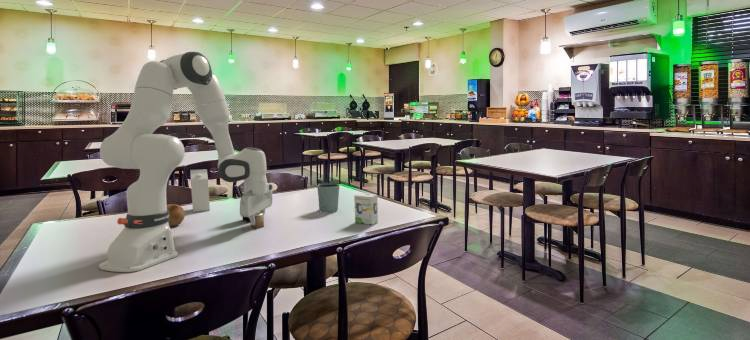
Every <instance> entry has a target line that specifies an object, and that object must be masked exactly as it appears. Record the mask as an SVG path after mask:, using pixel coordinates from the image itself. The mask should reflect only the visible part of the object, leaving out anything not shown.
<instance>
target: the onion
mask: <svg viewBox="0 0 750 340" xmlns="http://www.w3.org/2000/svg"><path fill="white" fill-rule="evenodd" d="M167 209H168V211H169V221H168V223H169V227H176V226H179V225H180V224H182V222H183V221H184V220H185V215H186V213H185V210H184V208H183V207H182V206H181V205H179V204H176V203H170V204H167Z"/></svg>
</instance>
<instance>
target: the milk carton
mask: <svg viewBox="0 0 750 340" xmlns="http://www.w3.org/2000/svg"><path fill="white" fill-rule="evenodd" d="M208 175H209V174H208V169H205V168H204V169H203V168H202V169H190V187H191V203H192V211H193V213H198V212H207V211H211V206H210V192H209V191H210V188H209V177H208Z"/></svg>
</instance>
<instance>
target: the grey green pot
mask: <svg viewBox="0 0 750 340" xmlns="http://www.w3.org/2000/svg"><path fill="white" fill-rule="evenodd" d="M316 187H317V195H318V210H319V212H320V211H321V212H320V213H323V212H332V213H335V212H334V211H336V212H338V211H337V210H339V198H340V197H339V196H340V184H338V183H319V184H317V185H316Z"/></svg>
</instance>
